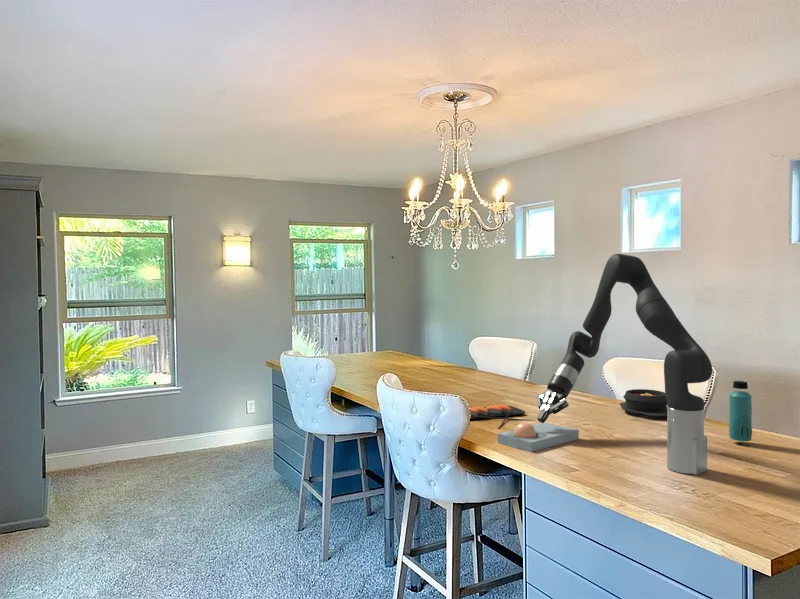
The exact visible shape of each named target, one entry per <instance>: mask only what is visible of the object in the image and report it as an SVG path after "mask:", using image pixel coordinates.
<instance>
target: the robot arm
mask: <svg viewBox="0 0 800 599" xmlns="http://www.w3.org/2000/svg"><path fill="white" fill-rule="evenodd" d="M616 283H622V284H627V285H630V286H631V287H632V289H633V290H634V292H635V294H636V296H637V298H636V303H635V312H636V315H637V317H638V319H639V320H640V322H641V324H642V325H643V327H644V328H645V329H646V330H647V331H648V332H649V333H650V334H651V335H653V336H654V337H656V338H657V339H659V340H661V341H662V342H663V343H665V344H667V345H668V346H670V348H672V349H673V350H670V351H669V352H668V353H666V355H665V357H664V362H663V377H664V378H663V379H664V392H665V395H666V398H667V416H666V419H667V420H666V421H667V422H666V429H667V430H666V434H667V435H666V438H667V440H666V442H667V443H666V450H667V451H666V453H667V454H666V455H667V456H666V462H667V463H666V464H667V466H666V467H667V469H669V470H670V471H673V472H676V473H681V474H687V475H688V474H689V475H695V476H697V475H700V474H702V473H705V472H706V471H708V437H707V435H705V400H704V399H703V397H701V396H699V395H695V394H692V393H691V392H690V391H689V386H688V384H701V383H705V382H707V381H709V380H710V379H711V377H712V375H713V366H712V362H711V360H710V358H709V356H708V354H707V353H706V351H705V350H704V349H703V348H702V347H701V346H700V345H699V344H698V343H697V341H696V340H695V339H694V338H693V337H692V335H691V334H690V333H689V332H688V331H687V328H686V327H685V326H684V325H683V324H682V323H681V321H680V319H679V318H678V317H677V316H676V314H675V312H674V311H673V308H672V307H671V306H670V304H669V303H668V301H667V300H666V299H665V297H663V294H662V293H661V292H660V290H659V288H658V287H657V284H655V283H654V281H653V279H652V276H651V275H650V272H649V271H648V269H647V266H646V265H645V263H644V261H643V260H642V259H641V258H640V257H637V256H635V255H629V254H623V253H614V254H612V255H610V256H609V257H608V260H607V261H606V263H605V266H604V269H603V272H602V274H601V278H600V281H599V284H598V287H597V291H596V293H595V298H594V300H593V302H592V305H591V308H590V310H589V311H588V312H587V315H586V317H585V318H584V321H583V323H582V328H583V329H584V330H585V331H586V332H587V333H588V334H589V335H588V334H587V333H585V332H582V331H579V330H577V331H574V332H573V333H571V335H569V336H570V337H569V339H568V345H567V349H566V353H565V354H564V355H565V356H564V357H563V359H562V361H561V363H560V364H559V366H558V367H557V369H555V371H554V373H553V375H552V377H551V378H550V380H549V382H548V383H547V387H546V390H545V391H543V393H542V394H536V395H535V400H536V405H537V408H538V409H539V410H540V411H539V412H538V415H537V416H536V419H537V421H538V423H539V424H540V423H544V422H546V421H547V420H548V418H549V416H550V415H551V414H553V415H556V414H558V413H559V412H561V411H562V410H564V409H566V408H567V407H569V406H570V405H569V404H570V403H568V401H567V397H568V396H569V395H570V393H571V391H572V389H573V388H574V385H576V381H577V379H578V377H579V375H580V373H581V371H582V369H583V368H584V365H585V359H583V357H585V358H589V359H590V358H594V357H596V355H597V354H598V352H599V349H600V346H601V344H600V343H601V337H602V334H603V332H604V330H605V328H606V327H607V324H608V322H609V320H610V318H611V315H612V300H611V298H612V297H611V295H612V292H613V289H614V287H615V286H616ZM579 354H580V355H581V356H580V355H579ZM582 356H583V357H582Z"/></svg>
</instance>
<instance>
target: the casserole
mask: <svg viewBox="0 0 800 599" xmlns="http://www.w3.org/2000/svg"><path fill="white" fill-rule="evenodd" d="M622 397H623V398H624V400H625V402H620V403H619V405H620V408H621V409H622V410H624V411H627V412H629V413H631V414H634V415H637V416H641V415H642V417H667V398H666V395H665V391H661V390H656V389H655V390H654V389H646V388H644V389H643V388H640V389H636V388H634V389H628V390H625V393H624V395H623V396H622Z"/></svg>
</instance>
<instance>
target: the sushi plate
mask: <svg viewBox="0 0 800 599" xmlns="http://www.w3.org/2000/svg"><path fill="white" fill-rule="evenodd" d="M469 408H470V412H471V419H470V420H477V418H479V419H497V420H498V419H499V420H503V421H502V422H501V424H500V425H499V426H498V427H497V429H499V430H500V429H501V428H502V427H503V425H504V423H505V422H506V420H508V421H520V422H521V421H533V422H535V421H536V419H527V418H526V419H524V418H523V419H522V418H508V417H510V416H517V415H524V414H525V413H526V411H525V410H523V409H520V408H518V407H515V406H512V405H505V404H496V405H490V406H485V407H483V406H473V407H469ZM500 416H501V417H500Z"/></svg>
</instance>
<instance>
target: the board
mask: <svg viewBox="0 0 800 599" xmlns="http://www.w3.org/2000/svg"><path fill="white" fill-rule="evenodd" d="M531 425H532V424H531ZM532 426H533V427H534V429H535V432H536V437H535V438H520V437H516V436H514V429H511V430H507V431H504V432H503V431H502V432H498V433H497V443H498V444H502V445H505V446H509V447H511V448H514V449H520V450H522V451H527V452H530V453H533V452H537V451H540V450H544V449H547V448H551V447H554V446H558V445H561V444H564V443H565V444H566V443H569V442H572V441H573V442H574V441H576V439H577V440H579V438H580V437H579V435H580V433H579V431H580V430H579V429H575V428H572V427H568V426H562V425H557V424H554V423H550V422H546V421H545V422H544V423H540V422H539V423H537V424H533V425H532Z"/></svg>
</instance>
